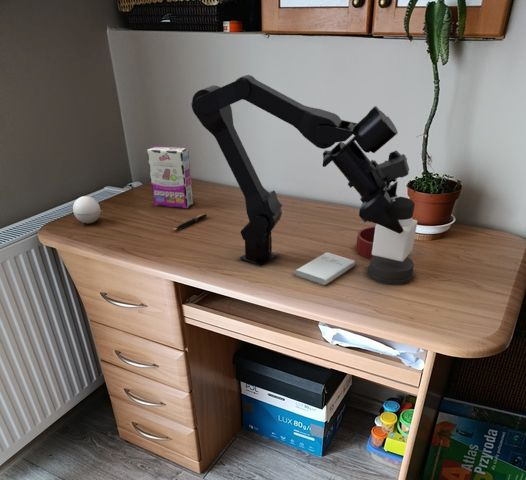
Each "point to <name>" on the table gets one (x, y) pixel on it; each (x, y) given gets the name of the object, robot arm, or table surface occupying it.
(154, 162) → the candy bar box
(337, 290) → the table surface
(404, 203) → the medicine bottle
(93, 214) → the white sphere
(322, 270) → the hard drive
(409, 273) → the stand
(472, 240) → the table surface
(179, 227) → the fountain pen
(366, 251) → the tin
